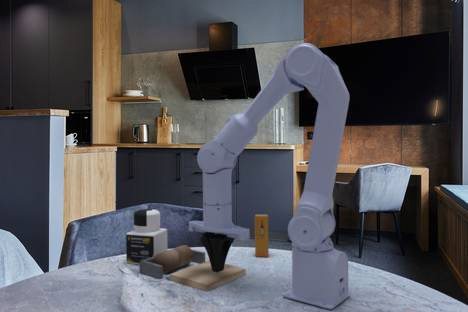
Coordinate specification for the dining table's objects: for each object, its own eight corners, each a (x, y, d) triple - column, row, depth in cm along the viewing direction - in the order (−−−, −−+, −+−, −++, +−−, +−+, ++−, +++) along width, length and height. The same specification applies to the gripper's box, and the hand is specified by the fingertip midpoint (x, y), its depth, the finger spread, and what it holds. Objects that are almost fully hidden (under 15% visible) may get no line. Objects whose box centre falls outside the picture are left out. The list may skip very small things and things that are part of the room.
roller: (180, 264, 92) (194, 263, 90) (155, 274, 85) (170, 273, 83) (176, 245, 92) (191, 244, 90) (152, 253, 86) (167, 252, 83)
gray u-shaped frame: (205, 263, 91) (205, 252, 91) (160, 278, 81) (159, 266, 80) (185, 258, 95) (185, 247, 95) (139, 272, 85) (139, 260, 85)
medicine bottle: (125, 263, 91) (125, 211, 91) (141, 255, 98) (141, 207, 98) (153, 266, 89) (153, 213, 89) (168, 257, 96) (167, 208, 96)
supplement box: (268, 253, 99) (268, 213, 99) (268, 257, 95) (268, 216, 95) (255, 253, 99) (255, 213, 99) (254, 257, 96) (254, 216, 96)
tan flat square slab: (245, 274, 83) (245, 268, 83) (207, 291, 74) (206, 284, 74) (205, 264, 90) (205, 259, 90) (165, 278, 81) (165, 272, 81)
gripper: (258, 204, 78) (258, 272, 78) (204, 198, 87) (205, 259, 87) (236, 208, 72) (236, 282, 73) (181, 202, 82) (181, 267, 82)
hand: (217, 270), depth 80 cm, fingers closed
